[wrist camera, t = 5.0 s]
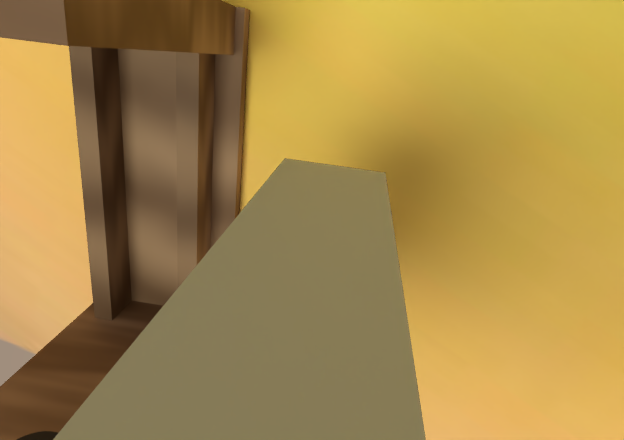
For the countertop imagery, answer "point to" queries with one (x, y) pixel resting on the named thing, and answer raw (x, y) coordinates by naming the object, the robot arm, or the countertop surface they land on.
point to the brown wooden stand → (135, 173)
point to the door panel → (276, 328)
